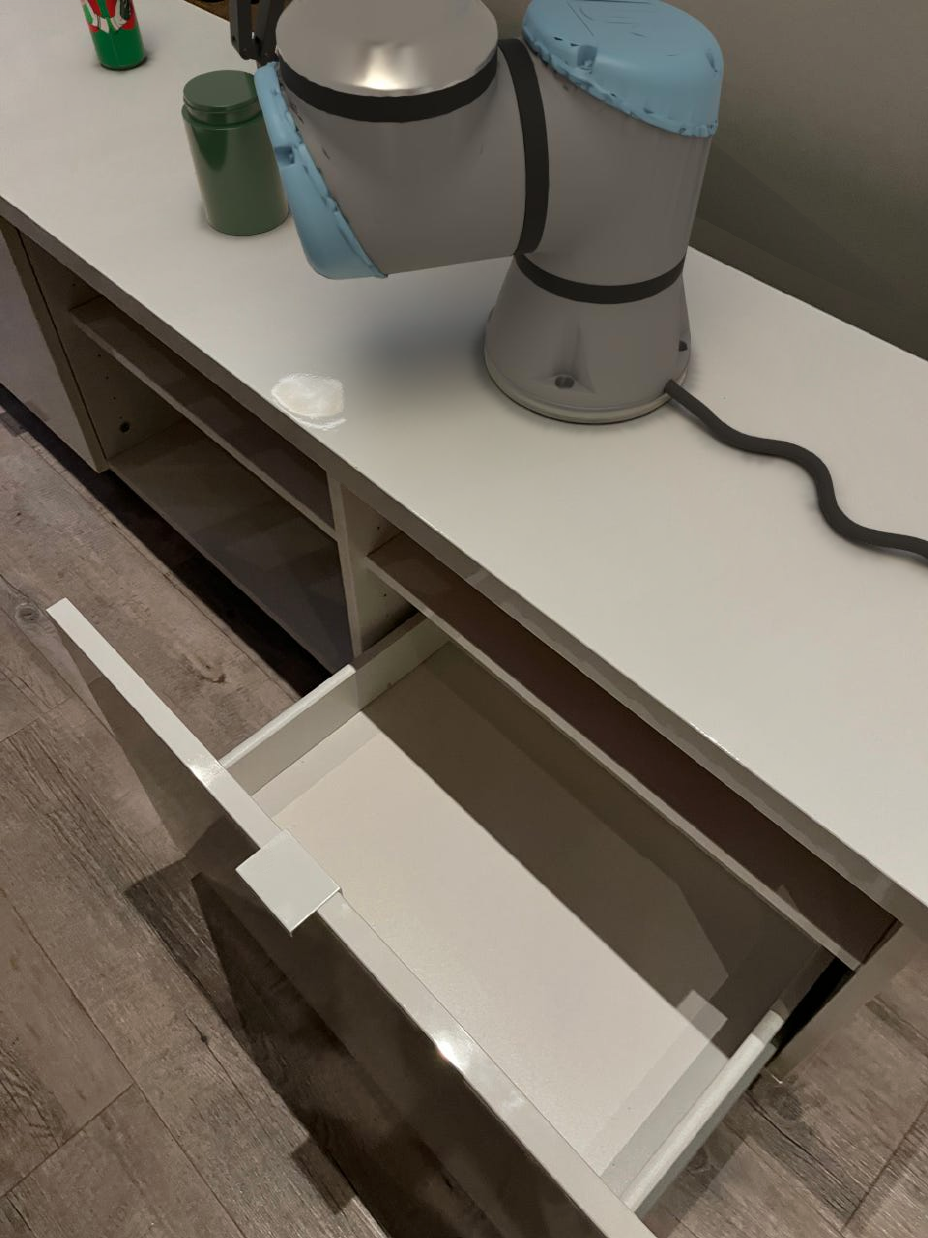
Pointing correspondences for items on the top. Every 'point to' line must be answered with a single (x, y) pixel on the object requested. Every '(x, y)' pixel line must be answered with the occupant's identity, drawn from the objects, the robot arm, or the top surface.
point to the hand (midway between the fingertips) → (326, 122)
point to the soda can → (115, 32)
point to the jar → (233, 153)
